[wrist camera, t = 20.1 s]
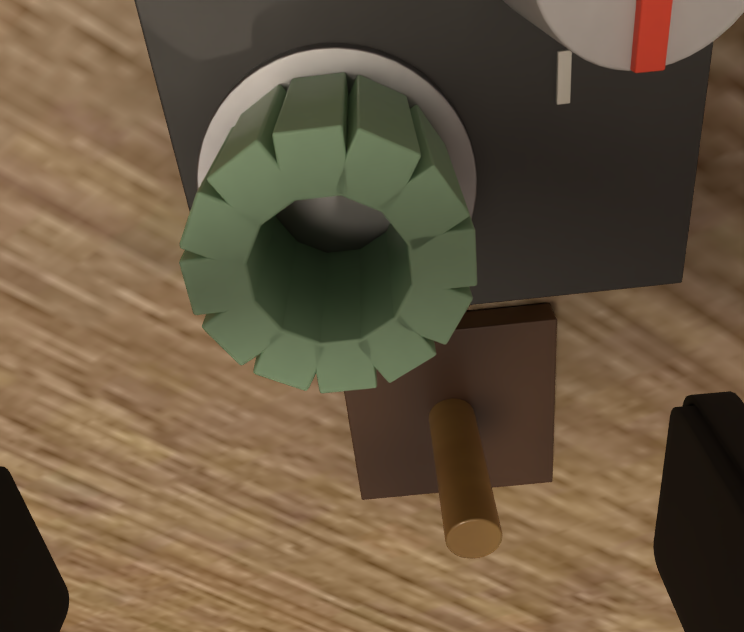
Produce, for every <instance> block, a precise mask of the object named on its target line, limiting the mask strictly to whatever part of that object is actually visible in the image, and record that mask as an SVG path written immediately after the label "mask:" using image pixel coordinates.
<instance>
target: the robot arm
mask: <svg viewBox="0 0 744 632" xmlns="http://www.w3.org/2000/svg"><path fill="white" fill-rule="evenodd" d="M654 556H655V561H656V565H657V568H658V571H659V573H660V576H661V578H662V580H663V582H664V585H665V587H666V589H667V592H668V594H669V596H670V599H671V601H672V603H673V606H674V608H675V610H676V613H677V615H678V617H679V620H680V622H681V624H682V627H683V629H684V631H685V632H744V403H743V402H742V400H741V399H740V398H739V397H738V396H737V395H736V394H735V393H733V392H719V393H708V394H696V395H689V396H687V397H686V398H685V400H684V403H683V407H675V408H673V409H672V411H671V415H670V421H669V429H668V436H667V444H666V452H665V459H664V467H663V475H662V482H661V490H660V498H659V505H658V513H657V521H656V528H655V536H654ZM68 607H69V593H68V590H67V587H66V585H65V583H64V581H63V579H62V577H61V575H60V573H59V571H58V569H57V567H56V565H55V563H54V561H53V559H52V557H51V554H50V552H49V550H48V548H47V546H46V544H45V542H44V540H43V538H42V536H41V534H40V532H39V530H38V528H37V526H36V524H35V522H34V520H33V518H32V516H31V514H30V512H29V510H28V508H27V506H26V504H25V502H24V500H23V498H22V496H21V494H20V492H19V490H18V488H17V486H16V484H15V482H14V480H13V478H12V476H11V474H10V472H9V471H8V469H6V468H5V467H1V466H0V632H60V629H61V627H62V625H63V622H64V620H65V618H66V615H67V612H68Z"/></svg>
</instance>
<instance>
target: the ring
mask: <svg viewBox="0 0 744 632" xmlns="http://www.w3.org/2000/svg"><path fill="white" fill-rule="evenodd" d="M332 196H343V197H345V198H348V199H350V200H353V201H355V202H358V203H360V204H363V205H365V206H368V207H370V208H373V209H375V210H378V211H380V212H382V213H383V214H384V216H385V217H386V218H387V219H388V221H389V222H390V225H389V227H388V229H387V231H386V232H385V233H383V234H382V235H380V236H379V237H378V238H376V239H375V240H373V241H372V242H370V243H369V244H367V245H366V246H364V247H363V248H361V249H357V250H348V251H339V252H330V253H326V252H323V251H321V250H318V249H315V248H313V247H310V246H308V245H305V244H302V243H300V242H297V241H296V240H295V238H294V237H293V236H292V235H291V234H290V233H289V232H288V230H287V229H286V228H285V227H284V226H283V225H282V224H281V222H280V221H279V220H278V219H277V218H276V214H278V213H279V212H280V211H282V210H283V209H284V208H286V207H287V206H288V205H290V204H291V203H293V202H294V201H296V200H305V199H314V198H323V197H332ZM180 247H181V248H182V249H185V251H184V253H183V255H182V257H181V259H180V262H179V264H180V267H181V271H182V274H183V278H184V282H185V285H186V289H187V292H188V296H189V299H190V303H191V306H192V310H193V313H194V314H195V315H201V314H206V316H205V319H204V322H203V325H202V328H203V329H204V330H205V331H206V332H207V333H208V334H209V335H210V336H211V337H212V338H213V339H214V340H215V341H216V342H217V343H218V344H219V345H220V346H221V347H222V348H223V349H224V350H225V351H226V352H227V353H228V354H229V355H230V356H231V357H232V358H233V359H234V360H235V361H236V362H237V363H239V364H240V365H244V364H245V363H247V362H248V361H250V360H251V359H253V358H254V357H256V361H255V365H254V373H255V374H256V375H259V376H262V377H265V378H268V379H271V380H274V381H277V382H280V383H283V384H286V385H289V386H292V387H295V388H298V389H301V390H304V391H306V390H307V389H308V388H309V386H310V384H311V382H312V380H313V378H314V376H315V374H317V380H318V385H319V391H320V393H330V392H340V391H350V390H360V389H370V388H376V387H377V372H376V369H377V370H378V371H379V372H380V373H381V375H382V376H383V377H384V378H385V379H386V380H387V381H388V382H389V383H391V382H393V381H394V380H396V379H397V378H399V377H401V376H402V375H404V374H406V373H407V372H409V371H411V370H412V369H414V368H416V367H417V366H419V365H421V364H422V363H424V362H426V361H427V360H429V359H431V358H432V357H434V356H435V355H436V349H435V343H434V341H436V342H439V343H441V344H447V343H448V341H449V339H450V337H451V336H452V334H453V332H454V331H455V329H456V327H457V325H458V324H459V322H460V320H461V319H462V317H463V315H464V313H465V312H466V310H467V308H468V307H469V305H470V303H471V301H472V299H473V297H472V293H471V290H470V287H469V286H476V285H477V262H476V236H475V228H474V225H473V223H472V220H471V217H470V213H469V210H468V208H467V205H466V202H465V199H464V196H463V194H462V191H461V188H460V185H459V182H458V179H457V177H456V174H455V171H454V168H453V165H452V163H451V160H450V157H449V154H448V151H447V149H446V146H445V144H444V142H443V141H442V139H441V138H440V137H439V135H438V134H437V132H436V131H435V129H434V128H433V127H432V125H431V124H430V122H429V121H428V119H427V118H426V116H425V115H424V114H423V112H422V111H421V109H420V108H419V106H418V105H414V106H413V107H412V108H409V104H408V100H407V97H406V95H404V94H401V93H399V92H397V91H395V90H392V89H390V88H388V87H386V86H383V85H381V84H379V83H377V82H374V81H372V80H370V79H368V78H366V77H363V76H361V75H358V76H357V77H356V79H355V82H354V84H353V87H352V89H351V91H350V94H349V95H348V87H347V79H346V74H345V73H344V72H342V73H334V74H326V75H317V76H309V77H300V78H293V79H292V80H291V83H290V86H289V88H288V91H287V92H286V91H285V89H284V88H283V87H282V86H281V85H277V86H276V87H275V88H273V89H272V90H271V91H270V92H268V93H267V94H266V95H265V96H263V97H262V98H261V99H260V100H258V101H257V102H256V103H255V104H253V105H252V106H251V107H250V108H248V109H247V110H246V111H245V112H243V113H242V114H241V115H240V117H239V119H238V121H237V123H236V125H235V127H232V128H231V130H230V132H229V133H228V135H227V137H226V139H225V141H224V143H223V144H222V146H221V148H220V150H219V152H218V154H217V156H216V157H215V159H214V161H213V163H212V165H211V167H210V168H209V170H208V172H207V174H206V176H205V178H204V180H203V181H202V183H201V185H200V187H199V189H198V191H197V193H196V195H195V198H194V201H193V204H192V207H191V210H190V213H189V216H188V219H187V223H186V226H185V229H184V232H183V235H182V238H181V241H180Z"/></svg>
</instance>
